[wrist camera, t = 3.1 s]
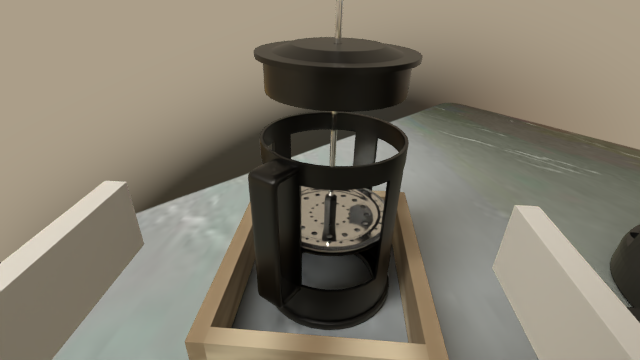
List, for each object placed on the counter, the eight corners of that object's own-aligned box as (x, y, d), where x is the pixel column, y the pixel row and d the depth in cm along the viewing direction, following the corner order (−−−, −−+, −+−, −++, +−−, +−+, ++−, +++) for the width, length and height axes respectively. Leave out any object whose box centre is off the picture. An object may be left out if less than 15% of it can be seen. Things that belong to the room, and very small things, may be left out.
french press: (319, 223, 33) (327, -71, 22) (411, 265, 28) (481, -82, 17) (222, 301, 25) (155, -111, 14) (330, 378, 20) (364, -155, 9)
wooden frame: (399, 223, 33) (404, 192, 32) (436, 403, 19) (449, 363, 17) (260, 214, 34) (258, 183, 32) (194, 381, 20) (184, 341, 18)
